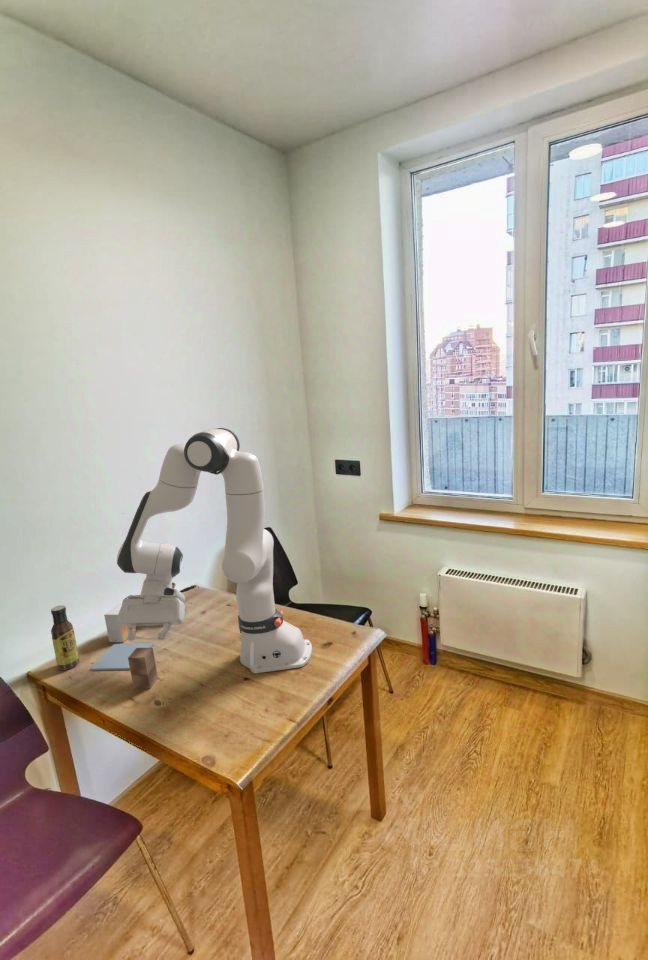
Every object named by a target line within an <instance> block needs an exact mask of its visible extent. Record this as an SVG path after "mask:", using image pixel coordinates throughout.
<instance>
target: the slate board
mask: <svg viewBox="0 0 648 960" xmlns="http://www.w3.org/2000/svg"><path fill="white" fill-rule="evenodd" d="M153 645H154V643H153V642H150V643H149V642H148V643H147V642H145V643H141V642H140V643H114V644H113V645H112V646H111V647H109V648H108V650H106V651H105V653H104V654H102V655H101V657H100V658H99V659H98V660H97V661H96V662H95V663H94V664H93V665H92V666H91V667H90V668H89V671H122V670H123V671H124V670H125V671H127V670H128V671H130V666H129V661H128V657H129V656H130V655H131V654H132V653H133V651H134V650H135V649H136V648H152V647H153Z"/></svg>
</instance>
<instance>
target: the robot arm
mask: <svg viewBox="0 0 648 960" xmlns="http://www.w3.org/2000/svg"><path fill="white" fill-rule="evenodd" d="M240 446H241V445H240V440H239V437H238V436H237V434H235V432H234V431H232V430H231V429H228V428H225V427H218V428H211V429H206V430H202V431H201V432H197V433H195V434H194V435H192V436H191V437H190V438H189V439H188V440H187V442H186V443H178V444H174V445H172V446H170V447H169V449H168V450H167V452H166V455H165V457H164V459H163V461H162V465H161V469H160V474H159V477H158V481H157V484H156V485H155V487H154V488H153V489H152V490H149V491H147V492H146V493H144V495H143V496H142V498H141V500H140V503H139V505H138V507H137V509H136V511H135V514H134V517H133V519H132V521H131V524H130V527H129V529H128V532H127V534H126V537H125V539H124V541H123V542H122V544H121V545H120V548H119V549H118V552H117V555H116V556H117V557H116V565H117V566H118V567H119V569H120V570H121V571H122V572H124V573H125V574H126V573H127V574H143V575H146V577H145V578H144V580H143V583H142V587H141V592H140V594H135V595H133V594H130V595H128V596H126V597H125V598H123V600H122V603H121V604H122V606H121V609H120V611H119V614H118V617H117V622H118V623H119V624H120V625H122V626H127V627H126V628H127V631H128V633H129V634H128V638H127V640H128V641H135V639H136V636H137V635H136V634H135V632H134V633H133V631H132V629H134V627H135V628H136V627H137V626H142V627H143V626H162V627H163V629H162V630H161V631H160V632H158V634H157V635H158V636H157V640H159V641H164V640H165V639H166V635H167V634H168V632H169V631H170V630H171V628H172V626H180V625H182V624H183V623H184V621H185V615H186V611H185V605H186V604H185V600H186V596H185V595H184V594H183V592H182V593H181V592H180V591H181V590H178V589H176V588H172V582H173V579H174V578H175V577H177V575H179V574H180V572H181V569H180V568H181V564H182V561H183V557H184V554H183V553H182V551H181V549H180V548H179V547H178V546H175V545H173V544H171V543H167V542H161V543H159V542H151V541H145V540H142V539H141V538H142V536H143V533H144V531H145V528H146V525H147V523H148V521H149V520H150V518H152V517H154V516H157V515H160V514H164V513H171V512H173V513H174V512H178V511H180V510H182V509H185V508H186V507H188V506H189V505H190V504H191V503H192V502H193V501H194V498H195V495H196V492H197V489H198V486H199V478H200V476H201V472H205V473H209V474H213V475H216V476H217V475H220V474H221V475H222V477H223V483H224V493H225V504H226V505H225V506H226V517H227V518H226V519H227V520H226V522H227V523H226V532H225V533H226V534H225V542H224V543H225V546H224V556H223V559H222V563H221V568H222V573H223V574H224V576H225V577H226V578H227V579H228V580H229V581H231V582H233V583H235V584H236V585H237V586H236V591H235V593H236V603H237V610H238V615H237V618H238V619H237V621H238V630H239V632H240V637H241V638H240V639H241V640H240V641H241V642H240V643H241V644H240V646H241V647H240V655H239V662H240V664H242V665H243V666H244V667H246V668H248V669H249V671H250V672H251V673H253V674H260V673H267V672H276V671H283V670H288V669H289V670H290V669H297V668H302V667H305V666H306V664H308V662H309V661H310V660H311V657H312V654H313V646H312V642H311V641H310V640H309V639H304V635H303V632H302V631H301V629H300V628H299V627H296V626H294V625H292V624H291V623H289V622H287V621H286V620H284V616H283V615H284V612H283V609H281V610H280V611H279V610H278V609H277V608H276V604H275V595H274V594H275V593H274V584H273V583H274V579H273V578H274V546H275V545H274V544H275V541H274V537H273V535H272V533H271V532H270V531H268V530H267V529H265V528H264V527H265V521H266V514H267V513H266V502H265V499H266V498H265V487H264V478H263V473H262V469H261V464H260V462H259V461H260V460H259V459H258V457H257V456H256V455H255V454H254V453H251V452H247V451H240V448H241V447H240ZM183 602H184V603H183ZM184 604H185V605H184Z"/></svg>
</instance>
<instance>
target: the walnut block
mask: <svg viewBox="0 0 648 960" xmlns="http://www.w3.org/2000/svg"><path fill="white" fill-rule="evenodd" d="M154 653H155V652H154V648H153V647H151V648H136V649H135V650H134V651H133V653H132V654H131V655H130V656H129V657H128V661H129V666H130V670H129V671H130V675H131V676H130V677H131V680H132V686H133V690H150V689H152V687H153V686H154V684H155V683H156V682H157V680H158V678H159V675H158V670H157V664H156V659H155V654H154Z"/></svg>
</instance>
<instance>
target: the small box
mask: <svg viewBox="0 0 648 960" xmlns="http://www.w3.org/2000/svg"><path fill="white" fill-rule="evenodd" d="M121 606H122V603H120V604H119V603H117V605H115V606H114V607H113V608H112V609H110V610H109V611H107V612H106V613H105V614H104V621H105V626H106V632H107V637H108V641H109V643H125V641H126V640H128V634H129V633H128V631H127V628H126V627H127V626H122V625H120V624H119V623H118V622H117V617H118V614H119V611H120V609H121ZM132 631H133V633H134V634H135V632H137V629H136V626H135V627H134V629H132Z"/></svg>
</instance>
